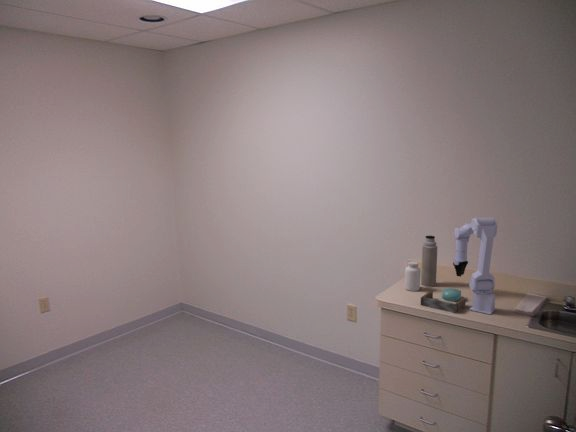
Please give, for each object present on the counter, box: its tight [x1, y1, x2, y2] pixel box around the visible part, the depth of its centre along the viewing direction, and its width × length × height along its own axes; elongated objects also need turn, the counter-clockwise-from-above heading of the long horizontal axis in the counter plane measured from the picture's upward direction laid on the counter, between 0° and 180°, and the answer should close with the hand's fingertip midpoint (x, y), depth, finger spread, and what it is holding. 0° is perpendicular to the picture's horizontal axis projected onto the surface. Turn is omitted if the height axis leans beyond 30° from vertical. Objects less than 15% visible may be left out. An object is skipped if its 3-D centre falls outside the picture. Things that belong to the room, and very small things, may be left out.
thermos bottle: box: [420, 235, 438, 288], centre depth 237 cm, size 8×8×28 cm
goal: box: [420, 290, 467, 314], centre depth 207 cm, size 17×12×4 cm
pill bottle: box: [404, 261, 421, 292], centre depth 231 cm, size 8×8×15 cm
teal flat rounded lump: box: [441, 287, 462, 303], centre depth 216 cm, size 9×9×4 cm
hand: (460, 275), depth 224 cm, fingers open, 3 cm apart
